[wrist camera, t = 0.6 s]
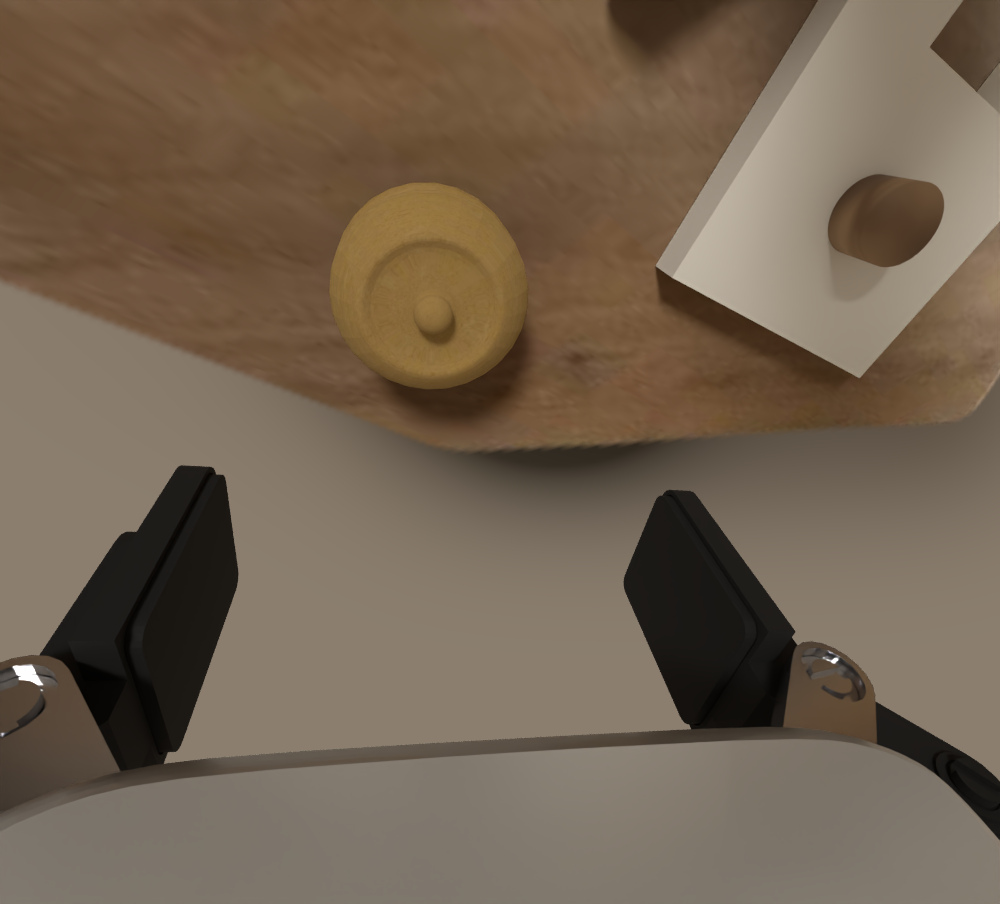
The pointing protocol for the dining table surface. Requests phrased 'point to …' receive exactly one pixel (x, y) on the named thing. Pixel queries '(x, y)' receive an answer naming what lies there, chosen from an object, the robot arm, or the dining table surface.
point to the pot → (428, 286)
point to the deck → (844, 180)
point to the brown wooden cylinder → (885, 219)
